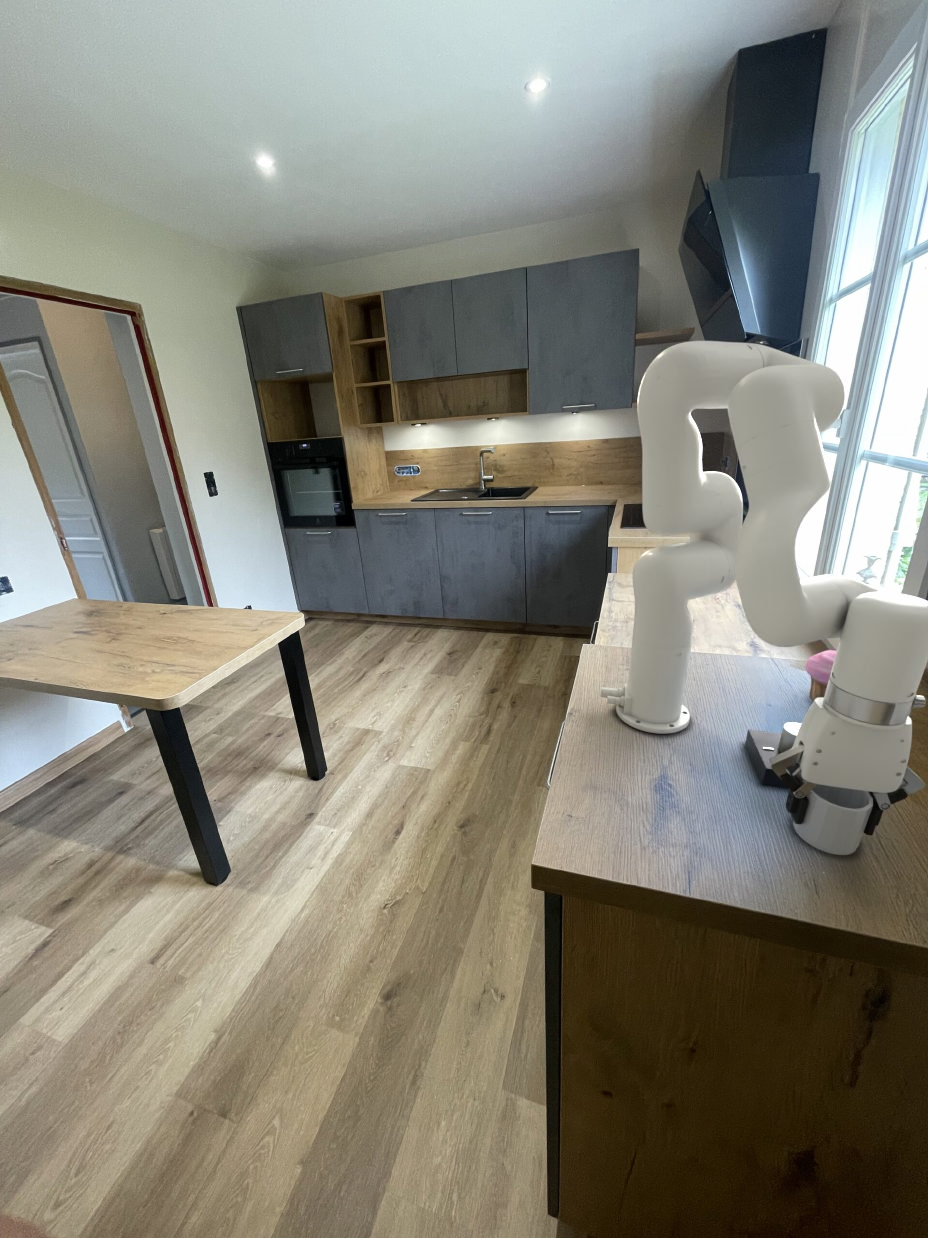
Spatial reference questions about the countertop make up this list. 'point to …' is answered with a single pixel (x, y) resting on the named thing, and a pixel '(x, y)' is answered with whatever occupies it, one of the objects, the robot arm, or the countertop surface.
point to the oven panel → (766, 756)
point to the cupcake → (820, 672)
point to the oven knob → (788, 736)
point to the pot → (835, 819)
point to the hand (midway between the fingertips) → (828, 820)
